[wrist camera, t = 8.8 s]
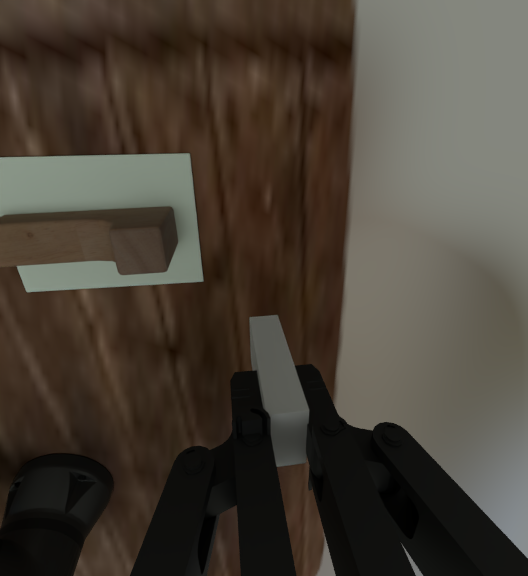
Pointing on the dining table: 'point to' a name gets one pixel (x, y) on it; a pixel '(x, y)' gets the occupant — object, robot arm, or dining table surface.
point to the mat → (102, 196)
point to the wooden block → (92, 238)
